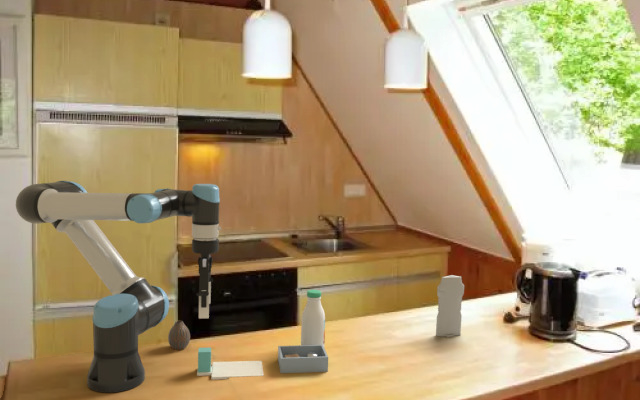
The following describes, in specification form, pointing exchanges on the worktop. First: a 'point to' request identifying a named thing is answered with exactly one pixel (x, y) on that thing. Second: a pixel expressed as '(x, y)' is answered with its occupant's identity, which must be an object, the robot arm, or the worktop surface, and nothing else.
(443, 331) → the tall pale column
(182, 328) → the vase
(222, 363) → the lid
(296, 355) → the walnut part
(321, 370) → the tub
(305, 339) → the milk bottle
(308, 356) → the metal part
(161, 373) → the worktop surface
